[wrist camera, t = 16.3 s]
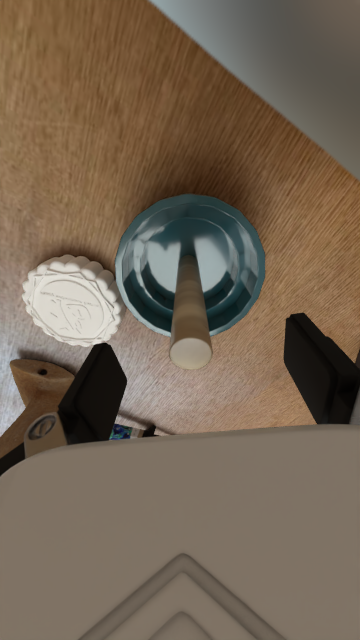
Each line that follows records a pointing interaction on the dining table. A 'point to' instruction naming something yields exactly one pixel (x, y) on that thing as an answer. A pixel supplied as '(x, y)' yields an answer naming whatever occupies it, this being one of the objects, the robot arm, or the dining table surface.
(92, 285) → the mooncake
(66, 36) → the dining table surface
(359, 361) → the holder
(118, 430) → the knife
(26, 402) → the brown hollow clay piece
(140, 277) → the bowl
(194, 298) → the stick
